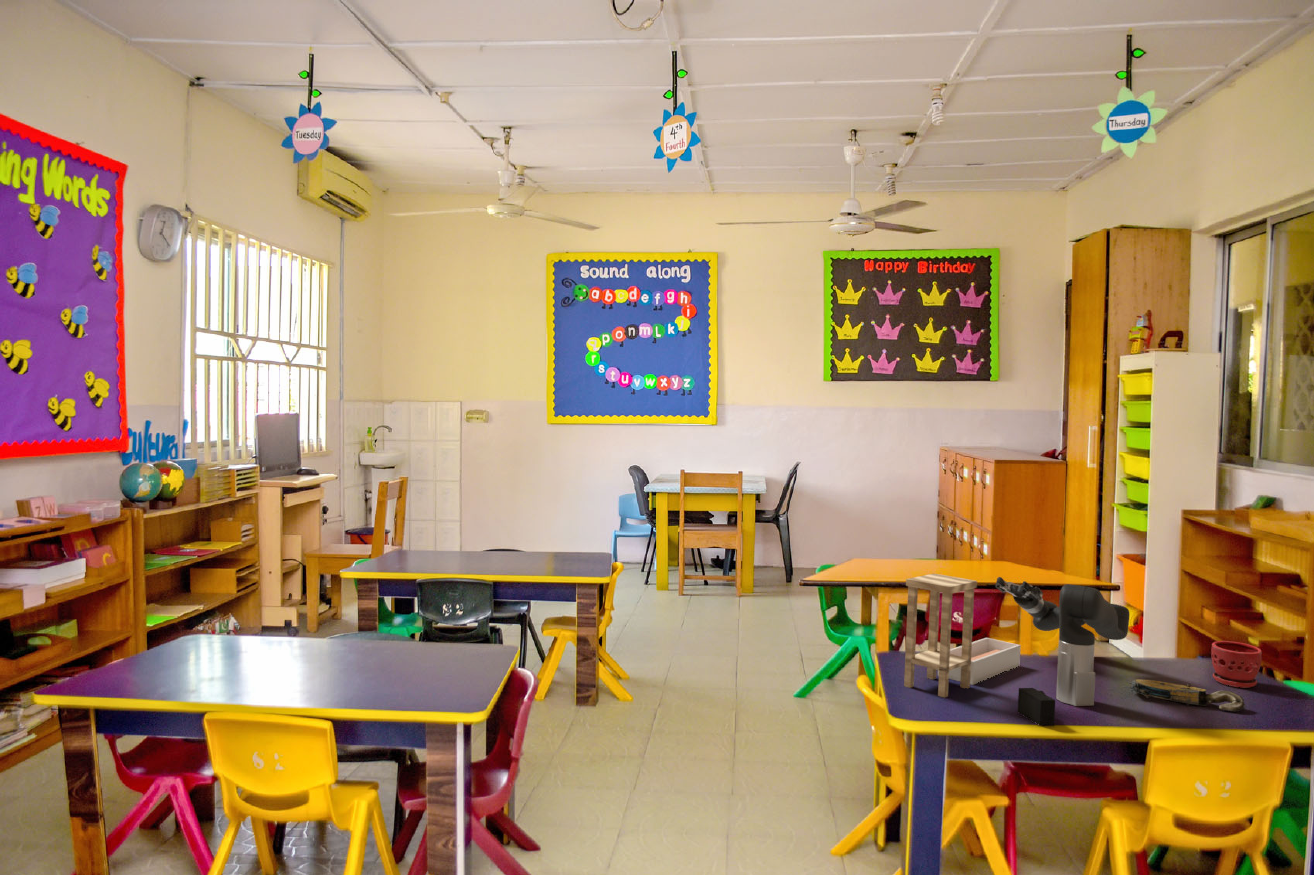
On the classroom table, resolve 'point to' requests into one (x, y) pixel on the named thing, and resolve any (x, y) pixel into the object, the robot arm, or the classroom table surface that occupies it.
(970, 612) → the tall stand
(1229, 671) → the plant pot
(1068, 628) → the robot arm
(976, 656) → the brown rectangular block
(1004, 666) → the grey bin
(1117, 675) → the classroom table surface
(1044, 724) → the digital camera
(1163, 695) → the pulley block
